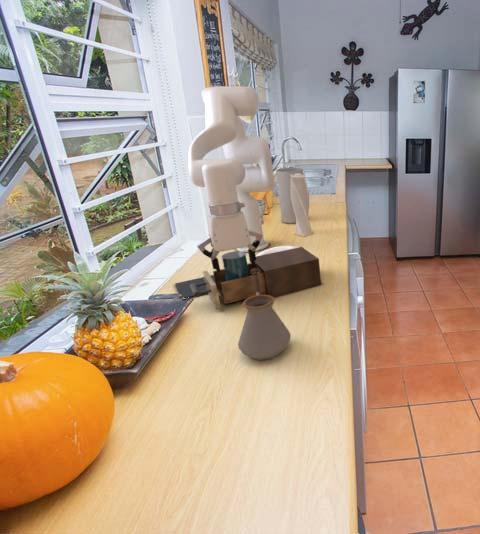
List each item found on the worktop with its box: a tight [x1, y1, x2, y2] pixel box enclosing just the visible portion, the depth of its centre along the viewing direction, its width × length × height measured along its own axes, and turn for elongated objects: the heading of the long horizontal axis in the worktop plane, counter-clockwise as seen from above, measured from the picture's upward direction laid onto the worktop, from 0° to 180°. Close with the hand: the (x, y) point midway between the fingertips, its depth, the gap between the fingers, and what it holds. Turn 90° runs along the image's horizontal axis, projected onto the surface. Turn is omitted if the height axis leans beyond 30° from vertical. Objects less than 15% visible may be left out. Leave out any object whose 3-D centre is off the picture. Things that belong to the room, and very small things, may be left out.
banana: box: [255, 245, 299, 256], centre depth 140 cm, size 5×19×15 cm
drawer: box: [190, 262, 267, 310], centre depth 113 cm, size 20×13×7 cm, turn 125°
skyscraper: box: [291, 169, 314, 237], centre depth 167 cm, size 8×8×28 cm
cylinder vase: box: [275, 167, 304, 225], centre depth 188 cm, size 12×12×25 cm
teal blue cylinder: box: [221, 250, 249, 281], centre depth 112 cm, size 8×6×11 cm
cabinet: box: [255, 246, 322, 298], centre depth 122 cm, size 17×14×9 cm
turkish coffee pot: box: [237, 268, 292, 361], centre depth 91 cm, size 21×12×15 cm, turn 21°
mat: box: [175, 274, 215, 299], centre depth 122 cm, size 13×13×1 cm
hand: (235, 266), depth 112 cm, fingers open, 9 cm apart
